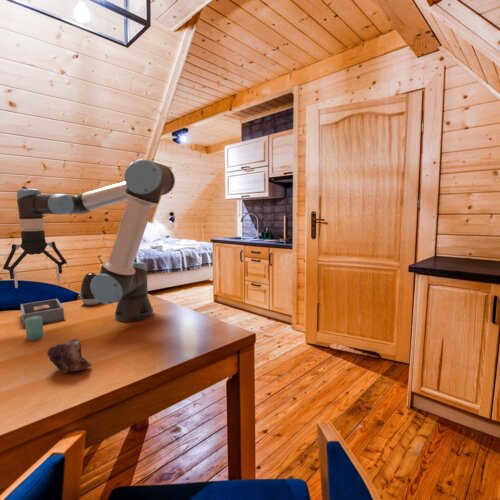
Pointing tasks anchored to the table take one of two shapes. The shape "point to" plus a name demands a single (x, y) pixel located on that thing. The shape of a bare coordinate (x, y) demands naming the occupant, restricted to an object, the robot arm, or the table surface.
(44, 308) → the walnut cube
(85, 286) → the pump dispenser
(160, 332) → the table surface
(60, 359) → the rock
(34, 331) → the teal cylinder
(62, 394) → the table surface
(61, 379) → the table surface
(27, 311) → the tote
